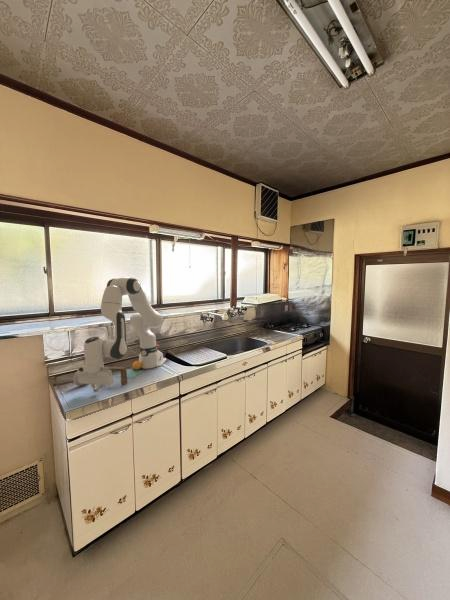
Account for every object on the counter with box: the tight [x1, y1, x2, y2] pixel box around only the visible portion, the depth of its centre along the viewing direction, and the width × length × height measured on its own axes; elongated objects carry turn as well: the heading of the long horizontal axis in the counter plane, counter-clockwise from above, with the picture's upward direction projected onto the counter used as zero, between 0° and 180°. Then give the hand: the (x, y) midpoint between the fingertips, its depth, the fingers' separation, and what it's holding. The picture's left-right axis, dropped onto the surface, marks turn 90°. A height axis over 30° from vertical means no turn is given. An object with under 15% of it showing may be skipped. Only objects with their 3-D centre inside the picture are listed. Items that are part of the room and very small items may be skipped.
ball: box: [132, 360, 142, 370], centre depth 171 cm, size 6×6×6 cm
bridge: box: [104, 365, 128, 386], centre depth 148 cm, size 3×15×10 cm, turn 76°
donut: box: [72, 370, 86, 387], centre depth 147 cm, size 10×4×10 cm, turn 136°
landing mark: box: [115, 369, 145, 379], centre depth 163 cm, size 13×13×1 cm
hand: (96, 391), depth 134 cm, fingers closed
